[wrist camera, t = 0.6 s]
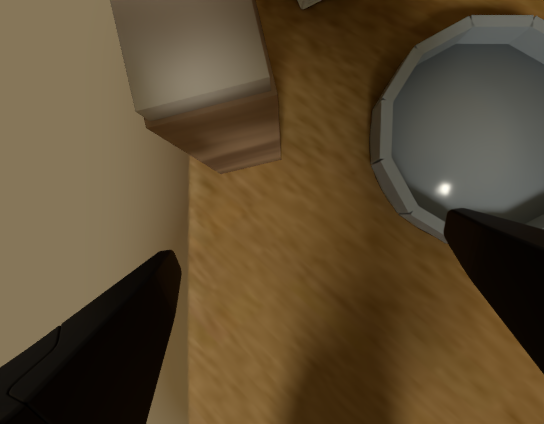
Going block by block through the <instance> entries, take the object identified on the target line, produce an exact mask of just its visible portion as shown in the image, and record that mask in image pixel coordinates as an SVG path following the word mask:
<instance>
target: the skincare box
mask: <svg viewBox="0 0 544 424" xmlns="http://www.w3.org/2000/svg"><path fill="white" fill-rule="evenodd" d="M297 1H298V3H299V5H300V7H301V9H305V8H307V7H309V6H311V5H313V4H315V3H317V2H319V1H321V0H297Z"/></svg>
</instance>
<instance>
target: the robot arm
mask: <svg viewBox="0 0 544 424" xmlns="http://www.w3.org/2000/svg"><path fill="white" fill-rule="evenodd" d="M444 237H445V239H446V241H447V243H448V244H449V246H450V248H451V249H452V251H453V252H454V254H455V256H456V257H457V259H458V261H459V262H460V264H461V265H462V267H463V269H464V270H465V272H466V273H467V275H468V276H469V278H470V279H471V281H472V282H473V283H474V285H475V286H476V287H477V289H478V290H479V291H480V292H481V294H482V295H483V296H484V298H485V299H486V300H487V301H488V303H489V304H490V305H491V307H492V308H493V309H494V311H495V312H496V313H497V314H498V316H499V317H500V318H501V320H502V321H503V322H504V323H505V325H506V326H507V327H508V329H509V330H510V331H511V332H512V334H513V335H514V336H515V338H516V339H517V340H518V342H519V343H520V344H521V345H522V347H523V348H524V349H525V351H526V352H527V353H528V354H529V356H530V357H531V358H532V360H533V361H534V362H535V364H536V365H537V366H538V367H539V369H540V370H541V371H542V373H543V374H544V229H541V228H537V227H534V226H530V225H526V224H523V223H519V222H515V221H511V220H508V219H504V218H500V217H497V216H493V215H489V214H485V213H482V212H478V211H474V210H470V209H467V208H456V209H450V210H449V211H448V212H447V215H446V220H445V226H444ZM180 281H181V268H180V265H179V263H178V260H177V258H176V255H175V253H174V252H173V251H172V250H165V251H160V252H158V253H157V254H155V255H154V256H152V257H151V258H150V259H148V260H147V261H146V262H144V263H143V264H142V265H140V266H139V267H138V268H136V269H135V270H134V271H132V272H131V273H130V274H128V275H127V276H125V277H124V278H123V279H122V280H120V281H119V282H117V283H116V284H115V285H113V286H112V287H111V288H109V289H108V290H107V291H105V292H104V293H102V294H101V295H100V296H98V297H97V298H96V299H94V300H93V301H92V302H90V303H89V304H88V305H86V306H85V307H84V308H82V309H81V310H80V311H78V312H77V313H76V314H74V315H73V316H71V317H70V318H69V319H67V320H66V321H65V322H63V323H62V325H61V326H58V327H56V328H55V329H54V330H52V331H51V332H50V333H49V334H47V335H46V336H44V337H43V338H42V339H40V340H39V341H37V342H36V343H35V344H33V345H32V346H31V347H29V348H28V349H27V350H25V351H24V352H22V353H21V354H19V355H18V356H16V357H15V358H13V359H12V360H10V361H9V362H8V363H6V364H5V365H3V366H2V367H0V424H146V422H147V418H148V414H149V410H150V407H151V403H152V400H153V396H154V392H155V389H156V384H157V381H158V378H159V374H160V370H161V366H162V363H163V359H164V355H165V351H166V348H167V344H168V341H169V337H170V333H171V330H172V326H173V322H174V318H175V313H176V308H177V301H178V293H179V288H180Z"/></svg>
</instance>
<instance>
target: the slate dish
mask: <svg viewBox="0 0 544 424" xmlns="http://www.w3.org/2000/svg"><path fill="white" fill-rule="evenodd" d="M369 142H370V156H371V164H372V166H371V167H372V169H373V170H374V173H375V176H376V179H377V181H378V183H379V185H380V188H381V190H382V191H383V193H384V194H385V196H386V198H387V199H388V201H389V202H390V203H391V204H392V206H393V207H394V209H395V210H396V212H397V213H399V214H398V215H400V216H402V217H403V218H405V219H406V220H407V221H409V222H410V223H412V224H413V225H414V226H416V227H417V228H419V229H421V230H423V231H425V232H426V233H428V234H430V235H433V236H435V237H436V238H438V239H439V240H441V241H443V242H444V243H447V241H446V239H445V237H444V226H445V220H446V215H447V212H448V211H449V210H450V209H456V208H467V209H470V210H474V211H478V212H482V213H485V214H489V215H493V216H497V217H500V218H504V219H508V220H511V221H515V222H519V223H523V224H526V225H530V226H534V227H537V228H541V229H544V20H543V19H541V18H539V17H537V16H535V17H534V18H533V15H471V16H470V17H469V16H468V17H466V18H464V19H462V20H461V21H459V22H457V23H455V24H453V25H451V26H450V27H448V28H446V29H444V30H442V31H441V32H439V33H437V34H435V35H433V36H431V37H430V38H428V39H426V40H424V41H422V42H421V43H419V44H417V45H415V47H413V49H412V50H411V51H410V52H409V54H408V55H407V56H406V58H405V59H404V60H403V61H402V63H401V64H400V66H399V67H398V69H397V71H396V72H395V74H394V75H393V77H392V79H391V80H390V82H389V83H388V85H387V86H386V88H385V89H384V91H383V93H382V95H381V96H380V98H379V100H378V101H377V103H376V104H375V106H374V108H373V110H372V122H371V128H370V138H369ZM447 244H448V243H447Z"/></svg>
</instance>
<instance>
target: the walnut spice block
mask: <svg viewBox="0 0 544 424" xmlns="http://www.w3.org/2000/svg"><path fill="white" fill-rule="evenodd" d="M110 2H111V7H112V11H113V15H114V20H115V24H116V28H117V33H118V37H119V41H120V46H121V50H122V55H123V59H124V63H125V68H126V72H127V76H128V81H129V85H130V90H131V94H132V98H133V103H134V107H135V111H136V112H137V113H139V114H140V115H142V116H143V117H144V120H145V125H146V128H147V129H149V130H150V131H152V132H154V133H155V134H157V135H159V136H160V137H162V138H163V139H165V140H167V141H168V142H170V143H171V144H173V145H175V146H176V147H178V148H180V149H181V150H183V151H184V152H186V153H188V154H189V155H191V156H192V157H194V158H196V159H197V160H199V161H201V162H202V163H204V164H205V165H207V166H209V167H210V168H212V169H214V170H215V171H217V172H218V173H220V174H223V173H227V172H231V171H235V170H240V169H244V168H248V167H252V166H256V165H260V164H264V163H268V162H272V161H277V160H281V150H280V131H279V111H278V94H277V90H276V85H275V81H274V77H273V73H272V68H271V64H270V60H269V56H268V52H267V47H266V43H265V39H264V35H263V30H262V26H261V22H260V18H259V13H258V9H257V5H256V1H255V0H110Z"/></svg>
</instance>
